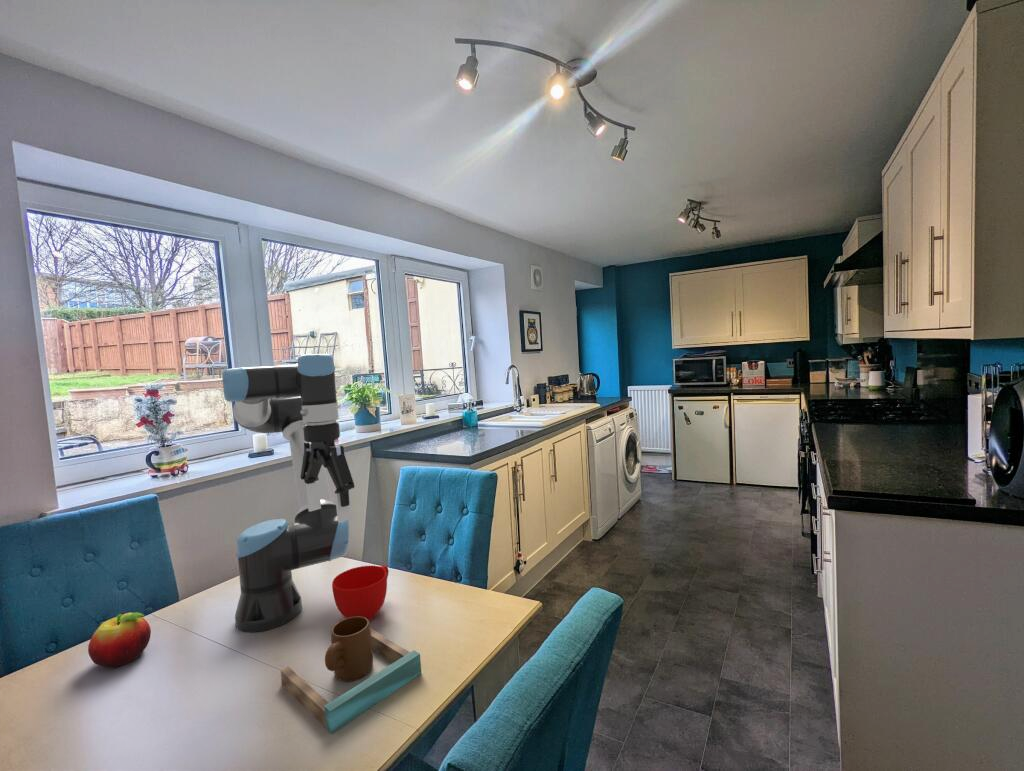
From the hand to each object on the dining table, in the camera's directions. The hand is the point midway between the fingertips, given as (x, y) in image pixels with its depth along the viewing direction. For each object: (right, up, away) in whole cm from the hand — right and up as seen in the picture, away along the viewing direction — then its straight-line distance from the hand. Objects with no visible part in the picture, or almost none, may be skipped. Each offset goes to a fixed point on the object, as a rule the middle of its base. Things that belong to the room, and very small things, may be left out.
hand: (328, 515), depth 107 cm
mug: (+9, -29, -13) cm, 33 cm away
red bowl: (+5, -28, +12) cm, 31 cm away
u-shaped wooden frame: (+9, -29, -13) cm, 33 cm away
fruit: (-45, -32, -2) cm, 55 cm away
